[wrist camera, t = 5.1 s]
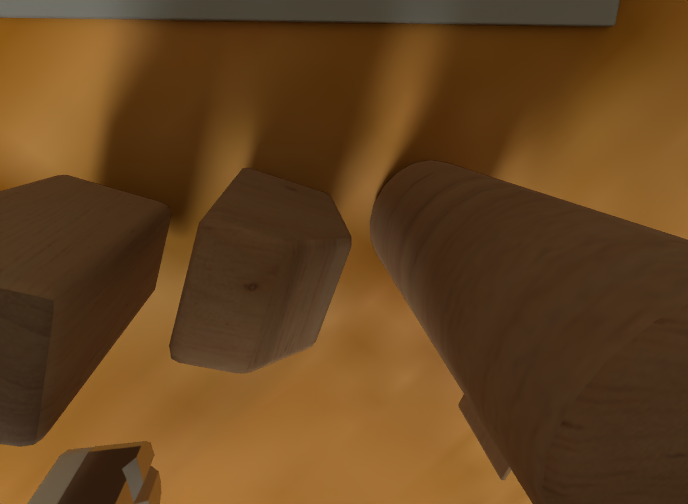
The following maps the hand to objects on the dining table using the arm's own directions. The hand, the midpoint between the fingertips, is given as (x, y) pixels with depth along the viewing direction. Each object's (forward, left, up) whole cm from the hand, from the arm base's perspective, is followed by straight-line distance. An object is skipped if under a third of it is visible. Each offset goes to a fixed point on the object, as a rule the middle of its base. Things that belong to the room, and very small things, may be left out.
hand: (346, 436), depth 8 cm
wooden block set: (+2, -1, -7) cm, 7 cm away
